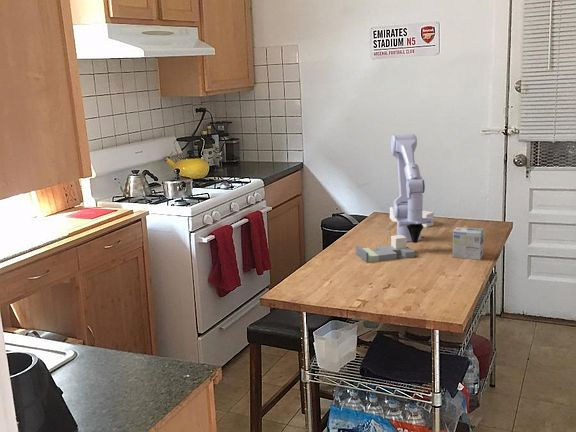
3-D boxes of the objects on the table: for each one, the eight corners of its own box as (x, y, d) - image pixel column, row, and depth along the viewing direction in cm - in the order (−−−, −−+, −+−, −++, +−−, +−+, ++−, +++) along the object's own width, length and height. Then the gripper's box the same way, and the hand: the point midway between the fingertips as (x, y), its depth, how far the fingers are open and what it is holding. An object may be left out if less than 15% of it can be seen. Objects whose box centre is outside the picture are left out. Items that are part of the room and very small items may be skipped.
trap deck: (402, 249, 267) (402, 240, 266) (414, 256, 256) (414, 247, 256) (356, 254, 262) (355, 245, 261) (366, 262, 252) (366, 253, 251)
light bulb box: (483, 255, 256) (484, 228, 253) (480, 260, 250) (481, 232, 247) (455, 252, 260) (456, 226, 258) (451, 257, 254) (452, 230, 252)
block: (401, 244, 266) (401, 234, 265) (406, 247, 261) (406, 237, 260) (391, 245, 264) (391, 235, 264) (395, 248, 260) (395, 238, 259)
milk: (426, 214, 296) (385, 207, 311) (426, 227, 298) (385, 220, 312) (434, 212, 300) (393, 205, 315) (433, 225, 302) (393, 217, 317)
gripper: (402, 213, 256) (402, 246, 259) (436, 209, 259) (435, 243, 262) (394, 209, 262) (394, 242, 265) (428, 205, 266) (427, 238, 269)
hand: (414, 242), depth 264 cm, fingers closed
